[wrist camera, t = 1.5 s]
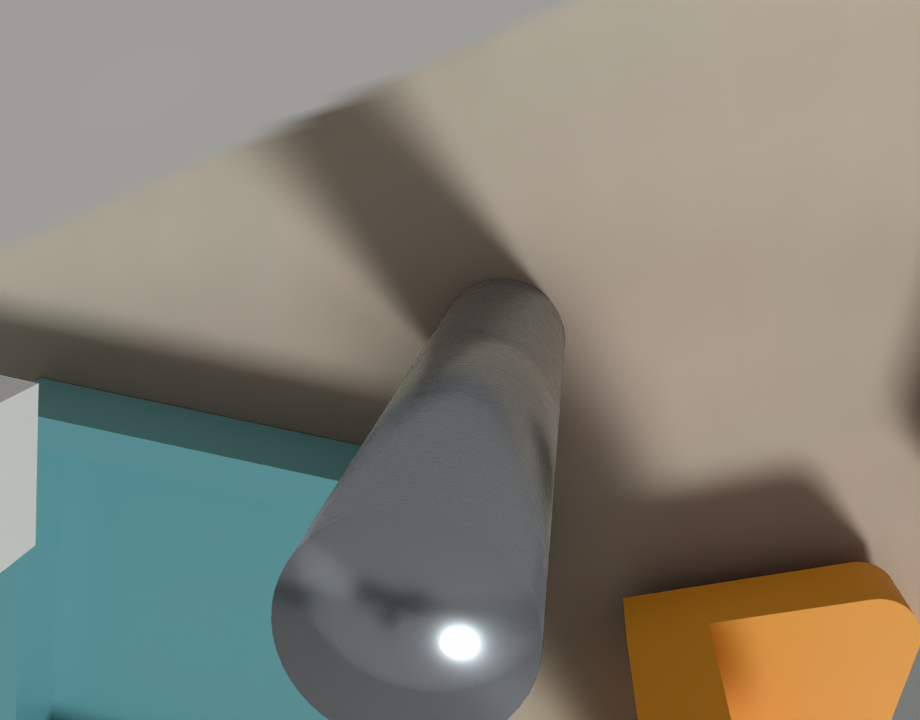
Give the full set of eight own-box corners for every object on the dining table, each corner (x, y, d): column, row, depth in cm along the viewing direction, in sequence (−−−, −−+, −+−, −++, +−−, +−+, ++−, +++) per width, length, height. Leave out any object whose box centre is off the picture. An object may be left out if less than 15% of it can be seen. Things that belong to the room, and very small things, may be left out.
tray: (32, 750, 31) (-15, 805, 28) (39, 377, 26) (-15, 405, 24) (450, 854, 29) (438, 920, 27) (529, 481, 25) (522, 521, 23)
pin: (433, 384, 25) (259, 716, 11) (452, 267, 24) (286, 482, 10) (551, 408, 24) (513, 777, 11) (576, 291, 23) (567, 542, 10)
